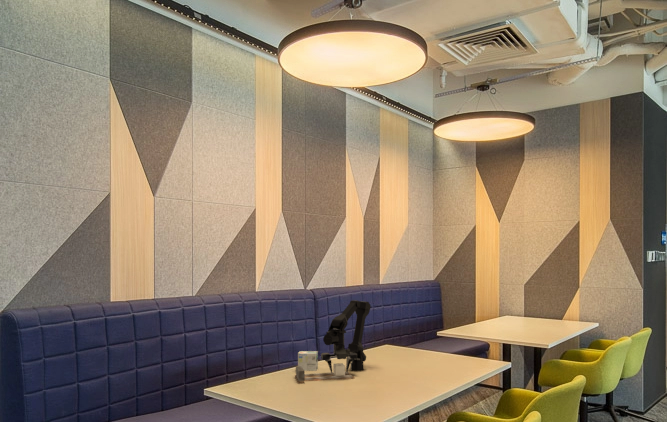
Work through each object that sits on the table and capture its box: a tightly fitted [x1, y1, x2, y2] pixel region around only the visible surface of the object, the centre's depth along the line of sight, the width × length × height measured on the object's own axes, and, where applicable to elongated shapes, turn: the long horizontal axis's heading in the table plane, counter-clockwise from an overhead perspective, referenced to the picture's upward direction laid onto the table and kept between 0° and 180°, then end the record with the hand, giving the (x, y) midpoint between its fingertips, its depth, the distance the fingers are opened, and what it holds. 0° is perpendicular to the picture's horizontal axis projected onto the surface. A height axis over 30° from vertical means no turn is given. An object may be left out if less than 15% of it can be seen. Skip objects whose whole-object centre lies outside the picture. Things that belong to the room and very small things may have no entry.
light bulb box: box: [297, 350, 319, 372], centre depth 292 cm, size 11×7×11 cm, turn 84°
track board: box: [294, 365, 355, 385], centre depth 275 cm, size 30×14×6 cm, turn 101°
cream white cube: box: [332, 362, 346, 376], centre depth 276 cm, size 5×6×6 cm
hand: (339, 372), depth 276 cm, fingers open, 8 cm apart
